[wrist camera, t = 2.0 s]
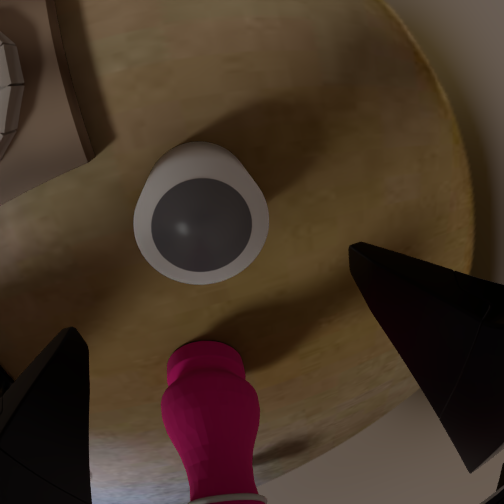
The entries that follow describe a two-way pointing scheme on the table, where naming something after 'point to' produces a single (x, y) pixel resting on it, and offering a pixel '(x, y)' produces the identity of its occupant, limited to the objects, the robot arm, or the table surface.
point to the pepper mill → (213, 422)
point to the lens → (200, 215)
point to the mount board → (36, 100)
